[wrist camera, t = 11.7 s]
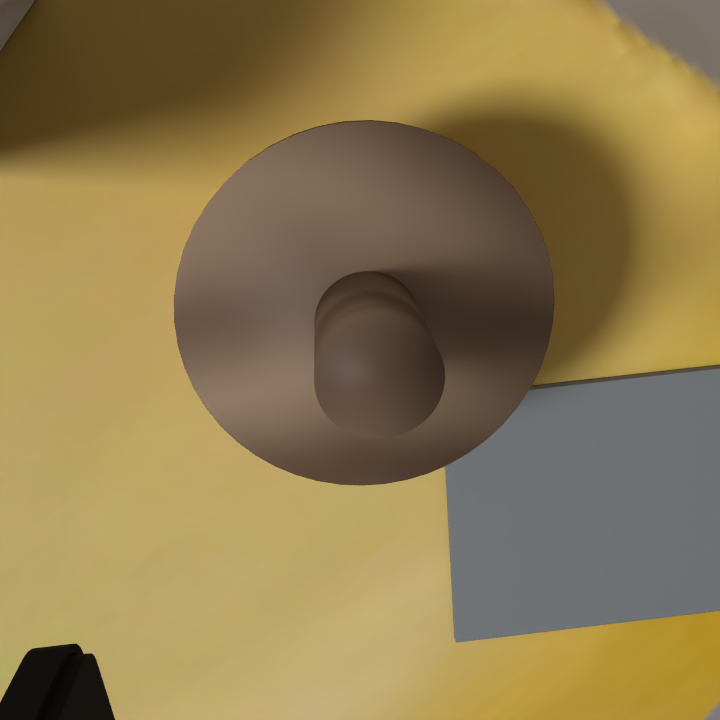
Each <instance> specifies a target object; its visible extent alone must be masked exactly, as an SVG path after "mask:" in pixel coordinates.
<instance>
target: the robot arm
mask: <svg viewBox="0 0 720 720" xmlns="http://www.w3.org/2000/svg"><path fill="white" fill-rule="evenodd" d="M0 720H115V718H114V715H113V712H112V709H111V705H110V702H109V699H108V696H107V693H106V689H105V686H104V683H103V680H102V677H101V674H100V670H99V667H98V664H97V661H96V659H95V656H94V655H93V654H83V652H82V649H81V647H80V646H79V645H78V644H67V645H59V646H50V647H42V648H34V649H31V650H30V651H28V652H27V654H26V655H25V657H24V658H23V660H22V662H21V664H20V666H19V668H18V670H17V671H16V673H15V675H14V677H13V679H12V681H11V683H10V685H9V687H8V689H7V691H6V692H5V694H4V696H3V698H2V700H1V702H0Z"/></svg>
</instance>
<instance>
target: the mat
mask: <svg viewBox="0 0 720 720" xmlns="http://www.w3.org/2000/svg"><path fill="white" fill-rule="evenodd" d="M445 468H446V487H447V506H448V525H449V543H450V562H451V581H452V600H453V619H454V637H455V641H456V642H464V641H473V640H481V639H489V638H498V637H506V636H514V635H523V634H531V633H539V632H548V631H556V630H564V629H572V628H581V627H589V626H597V625H606V624H614V623H622V622H631V621H639V620H647V619H656V618H664V617H672V616H680V615H689V614H697V613H705V612H714V611H720V365H715V366H706V367H697V368H688V369H679V370H670V371H661V372H652V373H643V374H634V375H625V376H617V377H608V378H599V379H590V380H581V381H572V382H563V383H554V384H545V385H536V386H531V388H530V389H529V391H528V392H527V394H526V395H525V397H524V398H523V400H522V401H521V403H520V405H519V406H518V407H517V409H516V410H515V411H514V412H513V413H512V415H511V416H510V417H509V418H508V419H507V420H506V422H505V423H504V424H503V425H502V426H501V427H500V428H499V429H498V430H497V431H496V432H495V433H493V434H492V435H491V436H490V437H489V438H488V439H487V440H486V441H484V442H483V443H482V444H480V445H479V446H478V447H476V448H475V449H473V450H472V451H471V452H469V453H468V454H466V455H464V456H463V457H461V458H459V459H457V460H456V461H454V462H452V463H450V464H449V465H446V466H445Z"/></svg>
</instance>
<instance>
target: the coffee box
mask: <svg viewBox="0 0 720 720" xmlns="http://www.w3.org/2000/svg"><path fill="white" fill-rule="evenodd" d="M34 1H35V0H0V51H1V49H2V48H3V46H4V45H5V43H6V42H7V40H8V39H9V38H10V36H11V35H12V33H13V32H14V30H15V29H16V27H17V26H18V24H19V23H20V21H21V20H22V18H23V17H24V16H25V14H26V13H27V11H28V10H29V8H30V7H31V5H32V4H33V2H34Z"/></svg>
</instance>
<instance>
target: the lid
mask: <svg viewBox="0 0 720 720" xmlns="http://www.w3.org/2000/svg"><path fill="white" fill-rule="evenodd" d="M553 310H554V289H553V275H552V270H551V266H550V261H549V256H548V252H547V249H546V246H545V243H544V240H543V238H542V235H541V232H540V229H539V228H538V226H537V224H536V222H535V220H534V218H533V216H532V214H531V212H530V210H529V209H528V207H527V206H526V204H525V203H524V201H523V200H522V199H521V197H520V196H519V195H518V193H517V192H516V190H515V189H514V188H513V187H512V186H511V184H510V183H509V182H508V181H507V180H506V179H505V178H504V177H503V176H502V175H501V174H500V173H499V172H498V171H497V170H496V169H495V168H494V167H492V166H491V165H490V164H488V163H487V162H486V161H484V160H483V159H482V158H481V157H479V156H478V155H477V154H475V153H474V152H472V151H470V150H469V149H467V148H465V147H463V146H461V145H460V144H458V143H456V142H454V141H453V140H450V139H448V138H445V137H443V136H440V135H438V134H435V133H433V132H430V131H427V130H425V129H422V128H417V127H413V126H409V125H405V124H400V123H396V122H385V121H374V120H363V121H343V122H338V123H333V124H327V125H322V126H317V127H314V128H311V129H308V130H305V131H302V132H299V133H296V134H293V135H291V136H289V137H287V138H285V139H283V140H281V141H279V142H277V143H275V144H273V145H271V146H269V147H268V148H266V149H265V150H263V151H262V152H260V153H259V154H257V155H256V156H255V157H253V158H252V159H250V160H249V161H247V162H246V163H245V164H244V165H243V166H242V167H241V168H240V169H239V170H238V171H236V172H235V173H234V174H233V175H232V176H231V177H230V178H229V179H228V180H227V181H226V182H225V183H224V184H223V185H222V186H221V188H220V189H219V190H218V191H217V192H216V194H215V195H214V196H213V197H212V198H211V200H210V201H209V202H208V203H207V205H206V207H205V208H204V210H203V212H202V213H201V215H200V216H199V218H198V220H197V221H196V223H195V225H194V227H193V229H192V231H191V234H190V236H189V238H188V241H187V243H186V245H185V247H184V250H183V254H182V258H181V261H180V265H179V268H178V272H177V279H176V287H175V294H174V323H175V329H176V336H177V342H178V347H179V351H180V354H181V357H182V361H183V364H184V367H185V370H186V372H187V374H188V376H189V379H190V381H191V383H192V385H193V388H194V390H195V391H196V393H197V394H198V396H199V398H200V399H201V401H202V402H203V404H204V406H205V407H206V409H207V410H208V411H209V413H210V414H211V415H212V416H213V417H214V419H215V420H216V421H217V422H218V423H219V425H220V426H221V427H222V428H223V429H224V430H225V431H226V432H227V433H228V434H229V435H231V436H232V437H233V438H234V439H235V440H236V441H237V442H238V443H239V444H241V445H242V446H244V447H245V448H246V449H248V450H249V451H250V452H252V453H253V454H255V455H256V456H258V457H260V458H261V459H263V460H265V461H267V462H268V463H270V464H272V465H274V466H276V467H278V468H281V469H283V470H285V471H288V472H290V473H293V474H295V475H298V476H302V477H305V478H309V479H313V480H316V481H321V482H328V483H334V484H341V485H375V484H387V483H392V482H398V481H403V480H408V479H411V478H414V477H418V476H421V475H424V474H428V473H430V472H432V471H435V470H437V469H439V468H442V467H444V466H446V465H449V464H450V463H452V462H454V461H456V460H457V459H459V458H461V457H463V456H464V455H466V454H468V453H469V452H471V451H472V450H473V449H475V448H476V447H478V446H479V445H480V444H482V443H483V442H484V441H486V440H487V439H488V438H489V437H490V436H491V435H492V434H493V433H495V432H496V431H497V430H498V429H499V428H500V427H501V426H502V425H503V424H504V423H505V422H506V420H507V419H508V418H509V417H510V416H511V415H512V413H513V412H514V411H515V410H516V409H517V407H518V406H519V405H520V403H521V401H522V400H523V398H524V397H525V395H526V394H527V392H528V391H529V389H530V388H531V386H532V384H533V382H534V380H535V378H536V376H537V374H538V371H539V369H540V367H541V364H542V362H543V359H544V356H545V353H546V350H547V347H548V343H549V338H550V333H551V328H552V323H553Z"/></svg>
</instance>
